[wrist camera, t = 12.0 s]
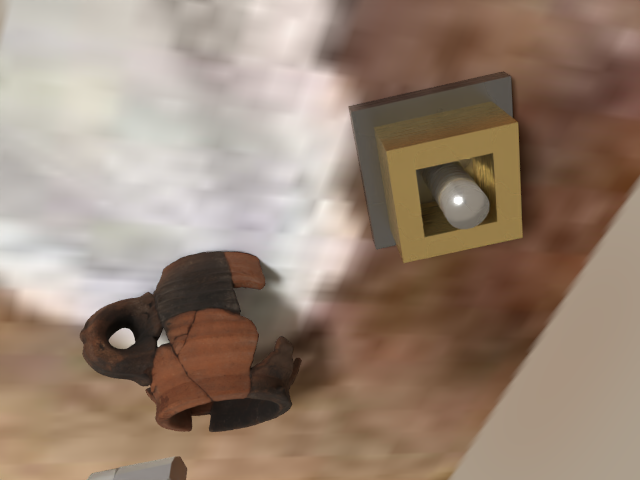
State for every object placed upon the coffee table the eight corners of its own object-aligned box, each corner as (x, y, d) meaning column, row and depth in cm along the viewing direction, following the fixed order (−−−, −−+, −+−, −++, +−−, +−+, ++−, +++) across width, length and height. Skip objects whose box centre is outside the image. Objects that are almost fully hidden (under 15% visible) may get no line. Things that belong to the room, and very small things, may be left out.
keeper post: (348, 106, 30) (365, 145, 25) (503, 71, 30) (554, 103, 24) (373, 240, 34) (392, 299, 28) (510, 210, 33) (556, 265, 28)
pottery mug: (310, 248, 34) (334, 386, 30) (259, 317, 41) (272, 436, 37) (91, 229, 29) (82, 391, 25) (75, 311, 36) (66, 448, 32)
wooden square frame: (373, 127, 29) (386, 151, 26) (491, 101, 29) (518, 122, 26) (390, 230, 32) (403, 263, 29) (498, 207, 32) (522, 237, 29)
